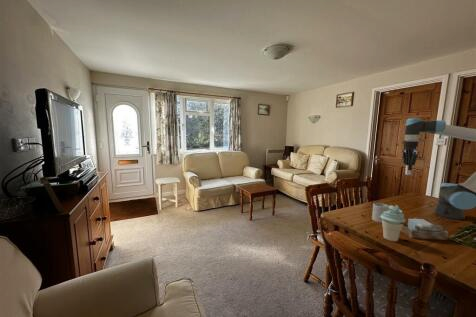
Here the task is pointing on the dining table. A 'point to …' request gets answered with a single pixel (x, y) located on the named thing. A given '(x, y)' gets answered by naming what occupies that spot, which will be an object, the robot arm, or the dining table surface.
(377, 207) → the mug
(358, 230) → the dining table surface
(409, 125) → the robot arm
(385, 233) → the frozen yogurt cup
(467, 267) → the dining table surface
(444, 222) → the dining table surface
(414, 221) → the crate
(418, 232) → the bay
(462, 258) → the dining table surface
